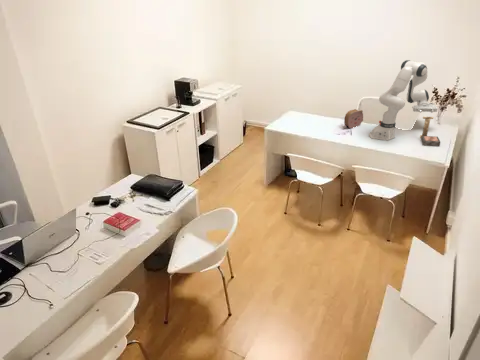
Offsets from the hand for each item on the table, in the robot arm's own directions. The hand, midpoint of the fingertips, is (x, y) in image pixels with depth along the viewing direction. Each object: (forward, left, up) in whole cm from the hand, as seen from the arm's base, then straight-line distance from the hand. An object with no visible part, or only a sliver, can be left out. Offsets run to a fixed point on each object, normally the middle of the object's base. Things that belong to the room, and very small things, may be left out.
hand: (426, 111), depth 323 cm
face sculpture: (-62, +9, -20) cm, 66 cm away
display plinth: (+3, -24, -20) cm, 32 cm away
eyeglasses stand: (0, -12, -20) cm, 24 cm away
